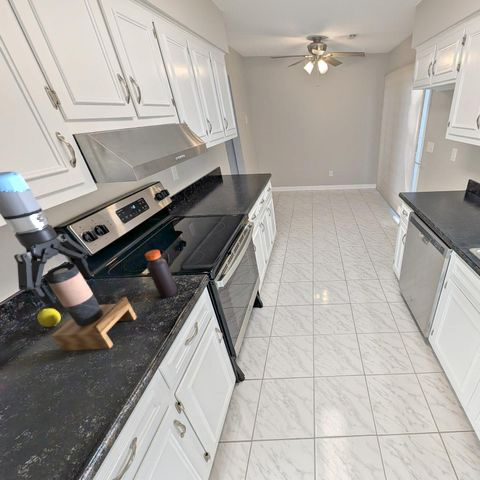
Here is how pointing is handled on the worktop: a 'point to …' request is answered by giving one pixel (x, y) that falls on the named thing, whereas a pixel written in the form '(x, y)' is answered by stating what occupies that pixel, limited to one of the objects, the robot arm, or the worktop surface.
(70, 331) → the shelf
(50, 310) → the lemon
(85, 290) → the travel mug
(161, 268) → the bottle
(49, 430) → the worktop surface
